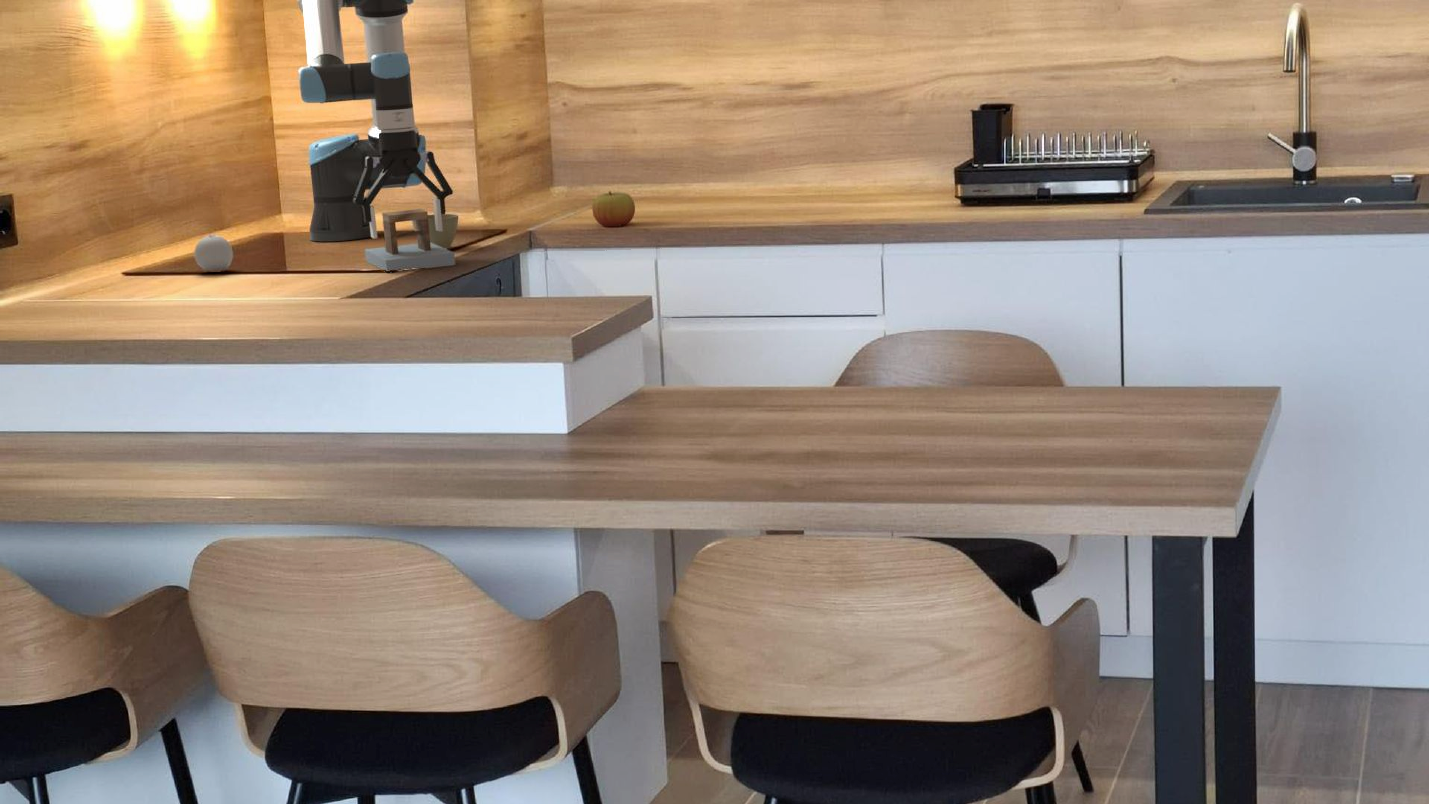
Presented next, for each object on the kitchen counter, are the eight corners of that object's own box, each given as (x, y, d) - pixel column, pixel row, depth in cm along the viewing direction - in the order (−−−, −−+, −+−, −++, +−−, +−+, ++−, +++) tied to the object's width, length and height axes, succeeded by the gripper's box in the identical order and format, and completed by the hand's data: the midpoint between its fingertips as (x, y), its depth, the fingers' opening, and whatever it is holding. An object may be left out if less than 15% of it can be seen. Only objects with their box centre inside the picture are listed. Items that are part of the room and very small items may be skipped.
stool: (392, 254, 354) (388, 215, 353) (386, 251, 360) (382, 212, 358) (431, 250, 357) (427, 211, 356) (423, 247, 363) (420, 208, 361)
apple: (586, 228, 396) (583, 193, 395) (604, 222, 405) (602, 188, 403) (625, 228, 393) (622, 193, 391) (643, 222, 401) (640, 187, 400)
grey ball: (201, 276, 358) (196, 237, 356) (193, 272, 365) (189, 234, 363) (239, 271, 361) (234, 233, 359) (230, 267, 368) (226, 230, 366)
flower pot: (452, 252, 371) (448, 218, 370) (407, 253, 373) (404, 220, 372) (467, 245, 381) (464, 212, 379) (424, 246, 383) (421, 214, 381)
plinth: (365, 261, 365) (364, 249, 365) (431, 253, 371) (430, 242, 370) (387, 272, 347) (385, 260, 347) (455, 264, 353) (454, 252, 352)
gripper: (338, 136, 345) (350, 242, 350) (461, 125, 354) (470, 229, 359) (331, 134, 352) (342, 238, 357) (451, 123, 361) (461, 225, 366)
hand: (407, 234), depth 358 cm, fingers open, 13 cm apart
